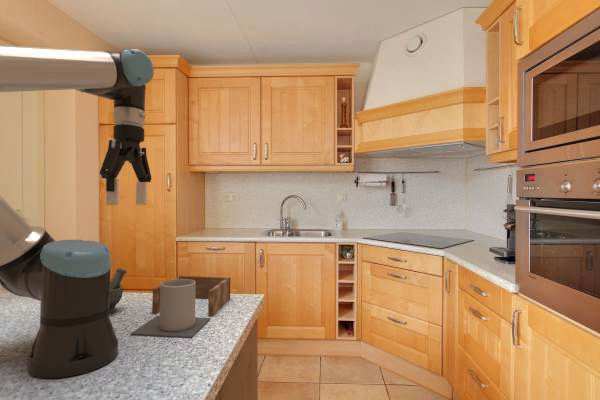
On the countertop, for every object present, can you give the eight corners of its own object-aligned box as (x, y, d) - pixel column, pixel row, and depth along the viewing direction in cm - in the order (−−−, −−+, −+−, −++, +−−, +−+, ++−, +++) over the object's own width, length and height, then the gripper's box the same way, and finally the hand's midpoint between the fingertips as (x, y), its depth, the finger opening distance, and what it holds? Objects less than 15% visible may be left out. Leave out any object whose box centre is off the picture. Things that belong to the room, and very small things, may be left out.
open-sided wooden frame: (212, 316, 97) (212, 291, 97) (152, 313, 98) (152, 289, 98) (230, 298, 115) (230, 277, 115) (178, 296, 116) (179, 275, 116)
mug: (201, 325, 89) (202, 282, 89) (169, 334, 82) (170, 288, 82) (178, 314, 97) (178, 275, 97) (147, 322, 90) (148, 279, 91)
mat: (191, 338, 82) (191, 336, 82) (130, 335, 83) (130, 333, 83) (210, 319, 95) (210, 317, 95) (157, 317, 96) (157, 315, 96)
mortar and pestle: (92, 320, 92) (93, 275, 92) (76, 313, 98) (77, 270, 98) (133, 310, 101) (134, 269, 101) (117, 304, 107) (117, 265, 107)
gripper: (114, 114, 81) (112, 205, 81) (164, 135, 106) (163, 204, 106) (83, 114, 82) (82, 205, 82) (140, 135, 107) (139, 204, 107)
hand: (127, 205), depth 94 cm, fingers open, 13 cm apart
